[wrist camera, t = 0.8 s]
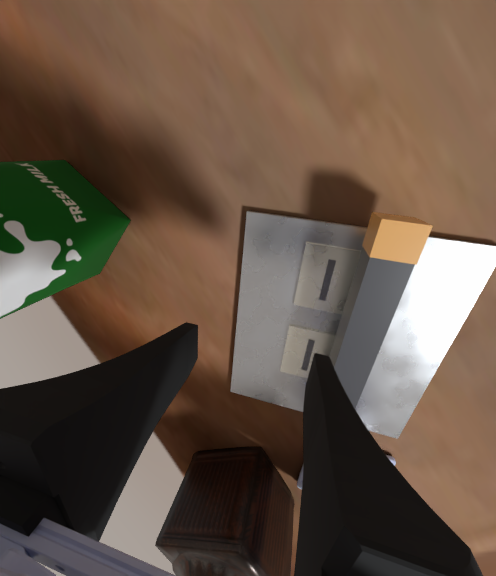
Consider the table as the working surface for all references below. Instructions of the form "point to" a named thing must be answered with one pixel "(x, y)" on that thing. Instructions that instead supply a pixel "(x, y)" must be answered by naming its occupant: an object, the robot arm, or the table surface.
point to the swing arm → (375, 295)
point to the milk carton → (51, 231)
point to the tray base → (329, 307)
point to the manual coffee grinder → (230, 517)
